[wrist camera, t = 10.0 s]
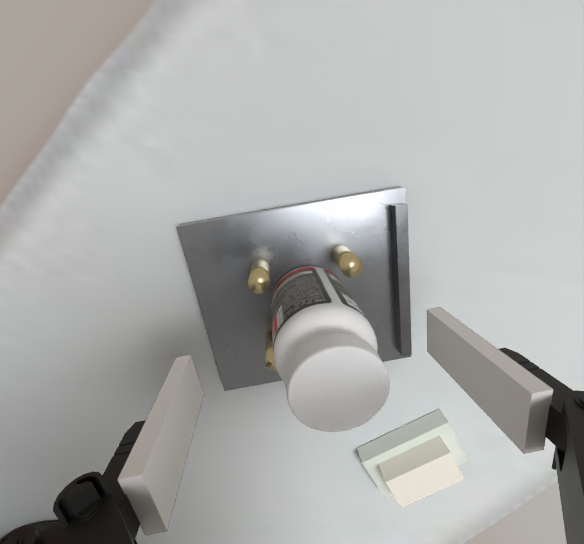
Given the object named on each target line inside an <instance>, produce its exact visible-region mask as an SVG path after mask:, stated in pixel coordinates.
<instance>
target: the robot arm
mask: <svg viewBox="0 0 584 544" xmlns="http://www.w3.org/2000/svg"><path fill="white" fill-rule="evenodd" d="M427 352H428V353H429V354H430V355H431V356H432V357H433V358H434V359H435V360H436V361H437V362H438V363H439V364H440V365H441V367H442V368H443V369H444V370H445V371H446V372H447V373H448V374H449V375H450V376H451V377H452V378H453V379H454V380H455V381H456V382H457V383H458V385H459V386H460V387H461V388H462V389H463V390H464V391H465V392H466V393H467V394H468V395H469V396H470V397H471V398H472V399H473V400H474V401H475V403H476V404H477V405H478V406H479V407H480V408H481V409H482V410H483V411H484V412H485V413H486V414H487V415H488V416H489V417H490V418H491V419H492V421H493V422H494V423H495V424H496V425H497V426H498V427H499V428H500V429H501V430H502V431H503V432H504V433H505V434H506V435H507V436H508V437H509V439H510V440H511V441H512V442H513V443H514V444H515V445H516V446H517V447H518V448H519V449H520V450H521V451H522V452H523V453H524V454H526V453H530V452H535V451H539V450H544V445H545V438H546V437H547V438H548V439H549V440H550V441H551V442H552V443H553V444H554V445H555V446H556V447H555V453H554V458H553V464H552V469H555V470H556V468H557V475H558V483H559V489H560V497H561V505H562V511H563V519H564V526H565V533H566V540H567V544H584V391H573V390H571V389H570V388H569V387H567V386H566V385H564V384H563V383H561V382H560V381H558V380H557V379H555V378H554V377H553V376H551V375H550V374H548V373H547V372H545V371H544V370H542V369H539V367H538V366H536V365H535V364H534V363H532V362H530V361H529V360H528V359H526V358H525V357H523V356H522V355H520V354H519V353H517V352H514V351H512V350H509V349H507V348H501V349H497V348H496V347H495V346H493V345H492V344H490V343H489V342H488V341H486V340H485V339H484V338H482V337H481V336H479V335H478V334H477V333H475V332H474V331H473V330H471V329H470V328H469V327H467V326H466V325H464V324H463V323H462V322H460V321H459V320H458V319H456V318H455V317H453V316H452V315H451V314H449V313H448V312H447V311H445V310H444V309H442V308H441V307H437V308H431V309H427ZM203 397H204V395H203V392H202V389H201V386H200V383H199V379H198V376H197V373H196V370H195V367H194V364H193V361H192V358H191V355H187V356H182V357H177V358H176V359H175V361H174V363H173V365H172V368H171V370H170V372H169V374H168V376H167V378H166V380H165V382H164V384H163V386H162V388H161V390H160V392H159V395H158V397H157V399H156V401H155V403H154V405H153V407H152V409H151V411H150V413H149V415H148V417H147V419H146V420H145V421H140V422H135V423H134V424H133V426H132V427H131V428H130V429H129V430H128V431H127V432H126V433H125V435H124V437H123V438H122V440H121V442H120V444H119V447H118V448H117V450H116V451H115V453H114V457H112V459H111V461H110V463H109V464H108V466H107V468H106V470H105V472H104V474H103V476H102V475H101V474H100V473H99V472H90V473H86V474H84V475H82V476H80V477H78V478H76V479H75V480H73V481H72V482H71V483H70V484H69V485H67V486H66V487H65V488H64V489H63V491H62V492H61V493H60V494H59V495H58V497H57V499H56V501H55V503H54V507H53V511H54V513H55V515H56V516H57V518H58V519H59V521H60V522H45V523H38V524H33V525H29V526H23V527H20V528H18V529H16V530H14V531H12V532H11V533H9V534H8V535H6V536H5V537H3V538H2V539H1V540H0V544H137V542H136V540H135V537H136V534H137V531H138V528H139V526H141V528H142V530H143V532H144V534H145V535H150V534H154V533H159V532H164V531H167V529H168V526H169V522H170V518H171V515H172V511H173V507H174V503H175V500H176V496H177V492H178V489H179V485H180V481H181V478H182V474H183V470H184V467H185V463H186V459H187V456H188V452H189V448H190V445H191V441H192V437H193V434H194V430H195V426H196V423H197V419H198V415H199V412H200V408H201V404H202V400H203Z"/></svg>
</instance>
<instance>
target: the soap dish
mask: <svg viewBox="0 0 584 544" xmlns="http://www.w3.org/2000/svg"><path fill="white" fill-rule="evenodd" d="M357 450H358V453H359V456H360V459H361V462H362V464H363V466H364V467H365V469H366V470H367V471H368V473H369V474H370V476H371V477H372V479H373V480H374V482H375V483H376V485H377V486H378V488H379V489H380V491H381V492H382V494H383V495H384V497H385V498H386V499H387V498H389V497H391V496H393V495H394V497H395V498H396V500H397V501H398V503H399V504H400V506H401V507H404V506H406V505H408V504H410V503H412V502H415V501H417V500H419V499H421V498H424V497H426V496H428V495H430V494H433V493H435V492H437V491H439V490H441V489H444V488H446V487H448V486H450V485H453V484H455V483H457V482H459V481H462V480H464V478H463V476H462V474H461V472H460V470H459V468H458V466H460V465H462V464H464V463H466V462H468V461H467V459H466V457H465V455H464V452H463V450H462V448H461V446H460V444H459V442H458V440H457V438H456V436H455V434H454V432H453V430H452V428H451V426H450V423H449V422H448V420H447V419H446V417H445V416H444V415H443V413H442V412H441V411H440V409H438V410H436V411H434V412H431V413H429V414H427V415H425V416H423V417H421V418H419V419H417V420H415V421H413V422H411V423H408V424H406V425H404V426H402V427H400V428H398V429H396V430H394V431H392V432H390V433H387V434H385V435H383V436H381V437H379V438H377V439H375V440H373V441H371V442H369V443H367V444H364V445H362V446H360V447H358V448H357Z"/></svg>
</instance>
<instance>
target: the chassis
mask: <svg viewBox="0 0 584 544" xmlns="http://www.w3.org/2000/svg"><path fill="white" fill-rule="evenodd" d="M177 230H178V234H179V237H180V241H181V244H182V247H183V251H184V254H185V258H186V261H187V265H188V268H189V271H190V275H191V278H192V282H193V285H194V288H195V292H196V295H197V299H198V302H199V305H200V309H201V312H202V316H203V319H204V322H205V326H206V329H207V333H208V336H209V339H210V343H211V346H212V350H213V353H214V357H215V360H216V363H217V367H218V370H219V374H220V377H221V380H222V384H223V387H224V391H226V390H232V389H237V388H243V387H248V386H254V385H259V384H264V383H270V382H275V381H281V380H282V379H281V377H280V376H279V374H278V372H277V369H276V367H275V363H274V356H273V338H272V318H271V298H272V294H273V291H274V289H275V287H276V285H277V283H278V282H279V281H280V279H281V278H282V277H284V276H285V275H286V274H287V273H289V272H291V271H292V270H295V269H297V268H301V267H307V266H314V267H320V268H323V269H326V270H328V271H330V272H332V273H333V274H334V275H336V276H337V277H338V278H339V280H340V281H341V282H342V283H343V285H344V287H345V288H346V289H347V291H348V292H349V294H350V295H351V297H352V298H353V300H354V301H355V303H356V304H357V305H358V307H359V308H360V310H361V311H362V313H363V314H364V316H365V317H366V318H367V320H368V321H369V323H370V325H371V327H372V328H373V330H374V333H375V336H376V339H377V346H378V351H377V353H378V355H379V357H380V358H381V360H382V362H384V361H389V360H395V359H400V358H406V357H411V354H412V352H411V317H410V281H409V245H408V210H407V202H406V187H399V186H398V187H393V188H387V189H381V190H375V191H369V192H364V193H358V194H352V195H346V196H340V197H335V198H329V199H323V200H317V201H311V202H306V203H300V204H294V205H288V206H282V207H276V208H271V209H265V210H259V211H253V212H247V213H242V214H236V215H230V216H224V217H218V218H213V219H207V220H201V221H195V222H189V223H184V224H180V225H179V226H177Z"/></svg>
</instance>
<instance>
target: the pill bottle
mask: <svg viewBox="0 0 584 544" xmlns="http://www.w3.org/2000/svg"><path fill="white" fill-rule="evenodd" d="M271 318H272V338H273V356H274V363H275V367H276V369H277V372H278V374H279V376H280V377H281V379H282V380H283V381H284V382H285V386H286V392H287V399H288V403H289V406H290V408H291V410H292V412H293V414H294V415H295V416H296V417H297V418H298V419H299V420H300V421H301V422H302V423H304V424H305V425H307V426H309V427H311V428H314V429H317V430H321V431H326V432H339V431H345V430H349V429H352V428H355V427H358V426H360V425H362V424H364V423H366V422H367V421H369V420H370V419H371V418H373V417H374V416H375V415H376V414H377V413H378V412H379V411H380V409H381V408H382V406H383V405H384V403H385V401H386V399H387V397H388V393H389V387H390V384H389V376H388V372H387V369H386V367H385V365H384V364H383V362H382V360H381V358H380V357H379V355H378V353H377V351H378V346H377V339H376V336H375V333H374V330H373V328H372V327H371V325H370V323H369V321H368V320H367V318H366V317H365V316H364V314H363V313H362V311H361V310H360V308H359V307H358V305H357V304H356V303H355V301H354V300H353V298H352V297H351V295H350V294H349V292H348V291H347V289H346V288H345V287H344V285H343V283H342V282H341V281H340V280H339V278H338V277H337V276H336V275H334V274H333V273H332V272H330V271H328V270H326V269H323V268H320V267H314V266H307V267H301V268H297V269H295V270H292V271H291V272H289V273H287V274H286V275H285V276H284V277H282V278H281V279H280V281H279V282H278V283H277V285H276V287H275V289H274V291H273V294H272V298H271Z"/></svg>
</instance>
